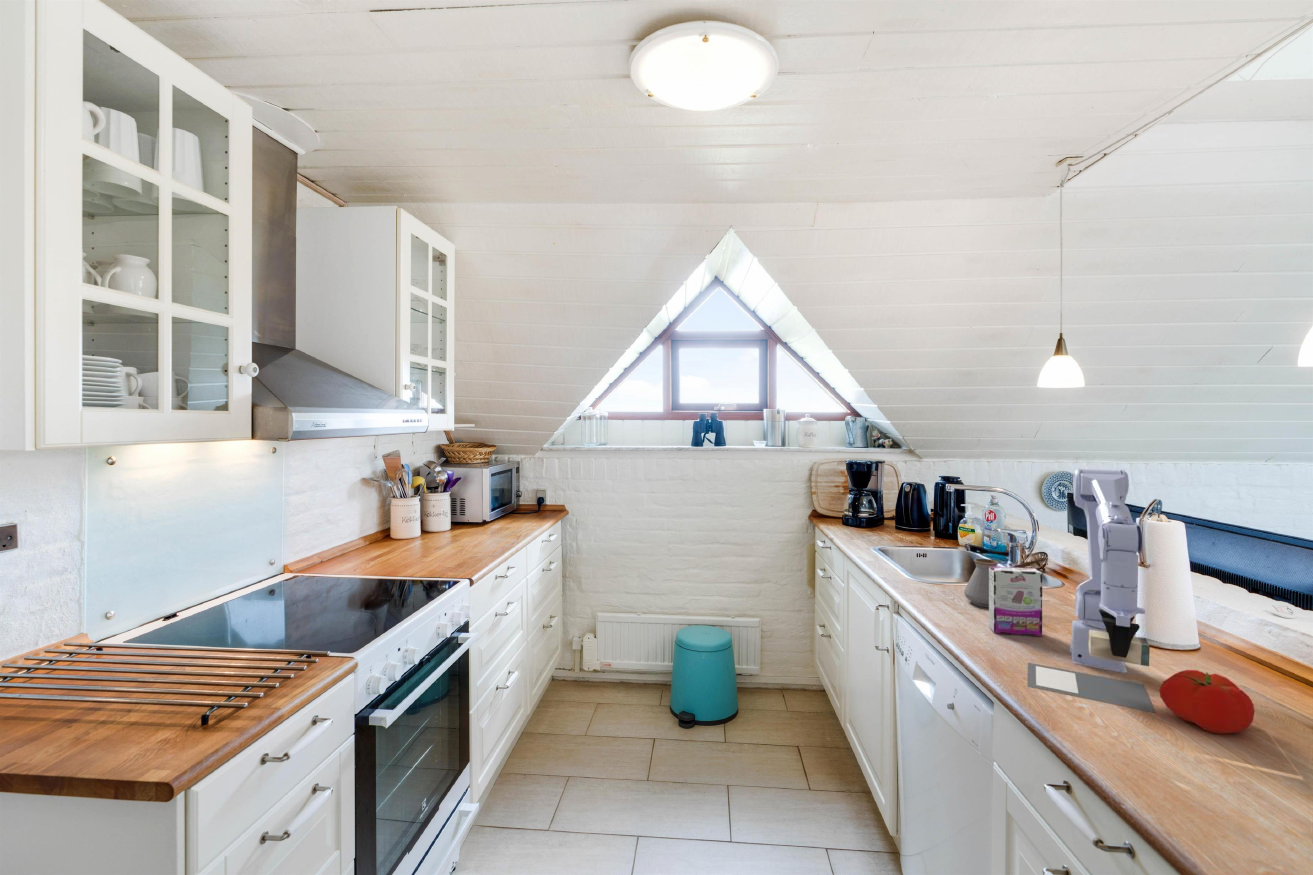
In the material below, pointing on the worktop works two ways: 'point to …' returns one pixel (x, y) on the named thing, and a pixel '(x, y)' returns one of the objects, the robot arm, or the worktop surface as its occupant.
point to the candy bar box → (1015, 601)
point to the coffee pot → (985, 580)
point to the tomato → (1208, 701)
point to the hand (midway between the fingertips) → (1117, 651)
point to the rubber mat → (1089, 687)
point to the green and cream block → (1102, 649)
